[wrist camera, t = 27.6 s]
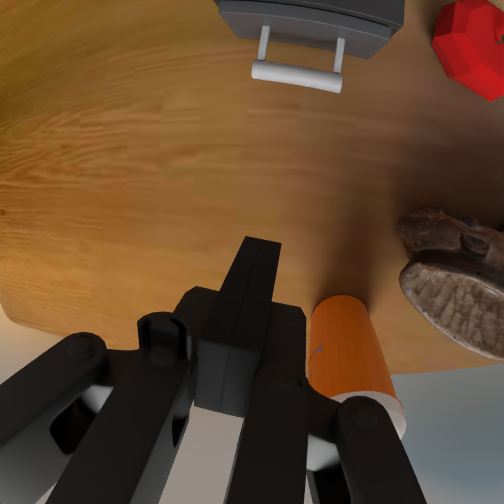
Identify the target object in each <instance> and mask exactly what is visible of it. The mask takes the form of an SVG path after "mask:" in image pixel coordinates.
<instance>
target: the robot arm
mask: <svg viewBox="0 0 504 504" xmlns="http://www.w3.org/2000/svg"><path fill="white" fill-rule="evenodd" d="M281 244H282V243H278V242H273V241H268V240H263V239H258V238H253V237H248V236H245V238H244V240H243V242H242V245H241V247H240V249H239V251H238V253H237V255H236V257H235V259H234V261H233V263H232V265H231V268H230V270H229V272H228V274H227V276H226V278H225V280H224V282H223V284H222V287H221V289H220V291H216V290H211V289H207V288H203V287H198V286H195V287H194V288H192V289H190V290H189V291H187V292H185V294H184V295H183V297H182V299H181V300H180V303H178V305H177V306H176V308H175V311H173V313H170V312H153V313H150V314H148V315H145V316H143V317H142V318H141V319H140V320H138V321H137V326H138V338H139V349H138V350H113V349H107V347H106V344H105V341H104V340H103V339H101V338H100V337H99V336H98V335H95V334H93V333H88V332H79V333H74V334H71V335H69V336H67V337H65V338H64V339H62V340H61V341H60V342H58V343H57V344H56V345H54V346H53V347H51V348H50V349H48V350H47V351H46V352H44V353H43V354H41V355H40V356H39V357H38V358H36V359H35V360H33V361H32V362H30V363H29V364H28V365H26V366H25V367H24V368H22V369H21V370H19V371H18V372H17V373H15V374H14V375H13V376H11V377H10V378H9V379H7V380H6V381H5V382H3V383H2V384H1V385H0V504H35V503H36V502H37V501H38V500H39V499H40V498H41V497H42V496H43V495H44V494H45V493H46V492H47V491H48V490H49V489H50V488H51V487H52V486H53V485H54V484H55V483H56V482H57V481H58V482H57V484H56V485H55V487H54V489H53V491H52V492H51V494H50V496H49V498H48V500H47V501H46V503H45V504H158V503H159V500H160V498H161V495H162V492H163V489H164V487H165V484H166V481H167V479H168V475H169V473H170V470H171V468H172V465H173V463H174V460H175V457H176V454H177V452H178V449H179V446H180V444H181V441H182V438H183V435H184V433H185V430H186V427H187V425H188V422H189V413H190V408H191V405H192V402H193V400H194V406H196V407H200V408H204V409H207V410H211V411H215V412H220V413H223V414H228V415H232V416H237V417H241V418H244V420H243V425H242V429H241V432H240V436H239V440H238V443H237V449H236V454H235V458H234V462H233V466H232V470H231V474H230V478H229V482H228V486H227V490H226V494H225V498H224V503H223V504H304V494H305V481H306V474H307V479H308V483H309V488H310V493H311V497H312V502H313V504H427V503H426V500H425V498H424V495H423V492H422V490H421V488H420V485H419V483H418V480H417V478H416V475H415V473H414V470H413V468H412V466H411V463H410V461H409V459H408V456H407V454H406V452H405V449H404V447H403V445H402V443H401V440H400V438H399V436H398V433H397V431H396V429H395V427H394V424H393V422H392V420H391V418H390V416H389V413H388V412H387V410H386V409H385V408H384V406H383V405H382V404H380V403H379V402H378V401H376V400H375V399H372V398H370V397H367V396H357V395H356V396H352V397H349V398H347V399H346V400H344V401H343V402H342V403H341V402H338V401H335V400H333V399H331V398H328V397H326V396H324V395H322V394H320V393H319V392H317V391H316V390H315V389H314V388H313V387H312V386H311V385H310V384H309V381H308V379H307V377H306V373H305V362H306V316H305V314H304V313H303V311H302V309H301V308H300V307H297V306H291V305H286V304H282V303H277V302H272V295H273V290H274V284H275V279H276V273H277V267H278V261H279V255H280V250H281Z"/></svg>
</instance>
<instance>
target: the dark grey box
mask: <svg viewBox="0 0 504 504" xmlns="http://www.w3.org/2000/svg"><path fill="white" fill-rule="evenodd" d="M220 1H221V0H214V2H215V3H216V4H217V6H218V7H219V5H220ZM237 1H242V0H237ZM257 1H269V2H279V3H287V4H295V5H302V6H308V7H314V8H320V9H325V10H330V11H335V12H340V13H344V14H349V15H353V16H357V17H361V18H365V19H368V20H372V21H373V22H375V23H378V24H382V25H385V26H388V27H391V36H392V35H393V34H394V33H396V32H397V31H398V30H399V29H400V28H401V27H402V26H403V20H404V4H405V0H257Z"/></svg>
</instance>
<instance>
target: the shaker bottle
mask: <svg viewBox="0 0 504 504" xmlns="http://www.w3.org/2000/svg"><path fill="white" fill-rule="evenodd" d="M307 379H308V381H309V384H310V385H311V386H312V387H313V388H314V389H315V390H316V391H317V392H319V393H320V394H322V395H324V396H326V397H328V398H331V399H333V400H335V401H338V402H341V403H342V402H343V401H344V400H346V399H347V398H349V397H352V396H356V395H357V396H367V397H370V398H372V399H375V400H376V401H378V402H379V403H380V404H382V405H383V406H384V408H385V409H386V410H387V412H388V413H389V416H390V418H391V420H392V422H393V424H394V427H395V429H396V431H397V433H398V436H399V438H400V440H401V438H402V436H403V434H404V432H405V430H406V421H405V417H404V412H403V407H402V404H401V403H400V401H399V400H398V399H397V397H396V393H395V390H394V387H393V384H392V380H391V377H390V374H389V371H388V368H387V365H386V362H385V359H384V356H383V353H382V350H381V347H380V344H379V341H378V339H377V336H376V333H375V330H374V327H373V325H372V322H371V319H370V317H369V314H368V311H367V309H366V307H365V305H364V304H363V303H362V302H361V301H360V300H359V299H357V298H355V297H352V296H349V295H336V296H332V297H330V298H327V299H325V300H324V301H322V302H321V303H320V304H319V305H318V306H317V307H316V308H315V310H314V312H313V314H312V318H311V332H310V347H309V360H308V373H307Z"/></svg>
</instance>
